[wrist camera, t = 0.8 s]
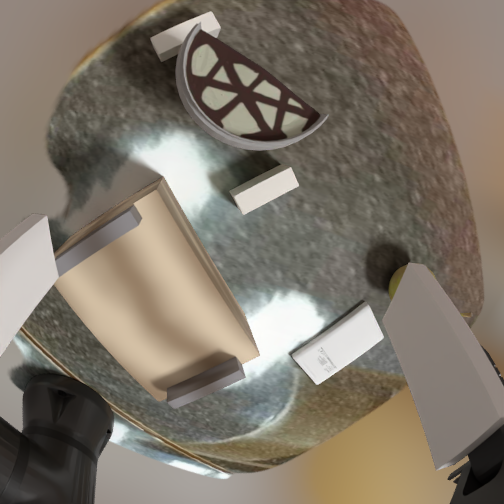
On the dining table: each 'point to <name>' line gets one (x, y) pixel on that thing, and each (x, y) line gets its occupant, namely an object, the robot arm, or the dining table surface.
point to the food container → (239, 97)
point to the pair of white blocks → (260, 186)
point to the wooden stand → (156, 298)
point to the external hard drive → (339, 344)
